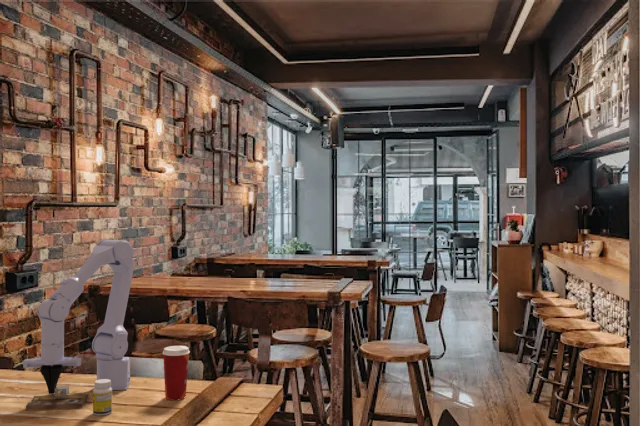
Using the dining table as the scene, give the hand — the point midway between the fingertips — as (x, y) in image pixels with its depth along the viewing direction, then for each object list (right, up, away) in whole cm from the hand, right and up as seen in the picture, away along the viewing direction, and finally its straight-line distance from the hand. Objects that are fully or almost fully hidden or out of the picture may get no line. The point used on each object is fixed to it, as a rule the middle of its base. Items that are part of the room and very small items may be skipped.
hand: (52, 392), depth 169 cm
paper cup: (+32, -3, +6) cm, 33 cm away
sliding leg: (+3, -1, -1) cm, 3 cm away
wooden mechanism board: (+2, -3, -1) cm, 4 cm away
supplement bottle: (+17, -3, -8) cm, 19 cm away
